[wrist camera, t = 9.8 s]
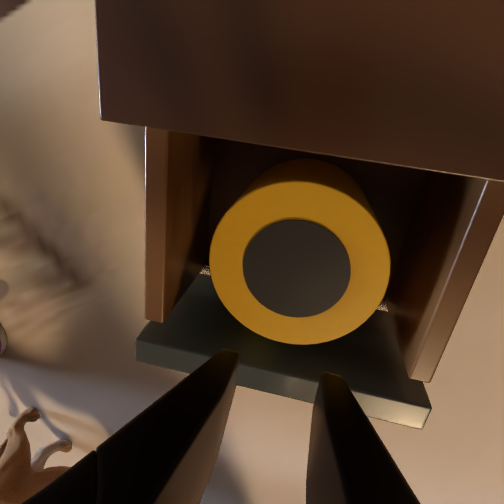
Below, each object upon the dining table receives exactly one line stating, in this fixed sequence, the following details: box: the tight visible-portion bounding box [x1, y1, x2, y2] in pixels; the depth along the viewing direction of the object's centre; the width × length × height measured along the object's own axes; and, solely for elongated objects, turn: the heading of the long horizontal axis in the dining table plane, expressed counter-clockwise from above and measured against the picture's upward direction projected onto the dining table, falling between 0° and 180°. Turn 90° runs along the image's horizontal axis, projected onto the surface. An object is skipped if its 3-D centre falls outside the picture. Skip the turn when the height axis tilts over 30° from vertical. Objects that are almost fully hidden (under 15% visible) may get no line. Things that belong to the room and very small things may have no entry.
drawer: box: [135, 127, 504, 429], centre depth 15 cm, size 17×12×6 cm
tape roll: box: [209, 159, 391, 345], centre depth 15 cm, size 6×6×5 cm
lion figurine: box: [0, 407, 72, 504], centre depth 25 cm, size 15×5×9 cm, turn 92°
